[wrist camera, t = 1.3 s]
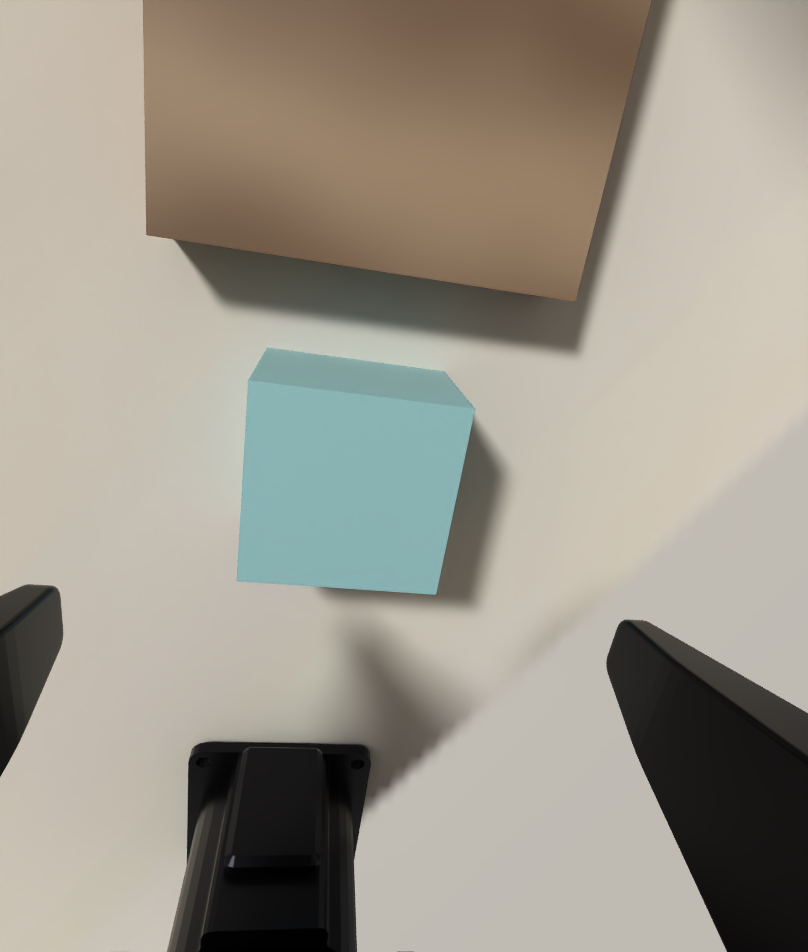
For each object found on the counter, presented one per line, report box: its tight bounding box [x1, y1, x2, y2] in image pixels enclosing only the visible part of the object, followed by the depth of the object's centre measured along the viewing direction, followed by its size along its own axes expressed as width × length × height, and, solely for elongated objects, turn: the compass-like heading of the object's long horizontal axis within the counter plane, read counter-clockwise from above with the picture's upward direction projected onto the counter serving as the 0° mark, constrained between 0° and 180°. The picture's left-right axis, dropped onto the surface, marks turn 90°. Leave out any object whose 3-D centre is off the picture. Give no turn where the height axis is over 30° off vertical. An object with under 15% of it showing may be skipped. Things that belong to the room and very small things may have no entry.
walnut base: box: [143, 0, 652, 302], centre depth 12 cm, size 10×10×2 cm
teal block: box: [237, 348, 475, 595], centre depth 15 cm, size 5×5×4 cm
